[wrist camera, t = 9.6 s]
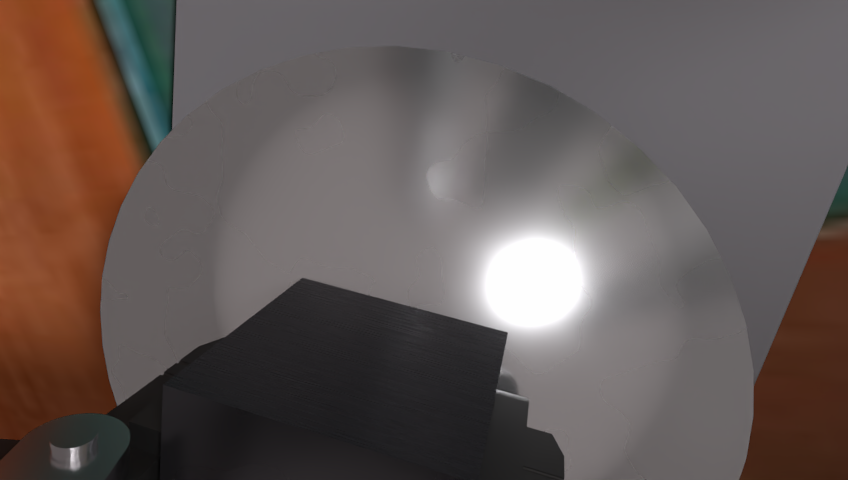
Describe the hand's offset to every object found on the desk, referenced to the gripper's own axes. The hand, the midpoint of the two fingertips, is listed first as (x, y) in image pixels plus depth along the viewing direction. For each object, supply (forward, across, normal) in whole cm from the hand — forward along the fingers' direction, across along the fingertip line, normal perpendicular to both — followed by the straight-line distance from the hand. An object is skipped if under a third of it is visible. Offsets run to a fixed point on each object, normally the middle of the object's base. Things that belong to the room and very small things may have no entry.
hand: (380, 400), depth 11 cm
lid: (+1, 0, 0) cm, 1 cm away
